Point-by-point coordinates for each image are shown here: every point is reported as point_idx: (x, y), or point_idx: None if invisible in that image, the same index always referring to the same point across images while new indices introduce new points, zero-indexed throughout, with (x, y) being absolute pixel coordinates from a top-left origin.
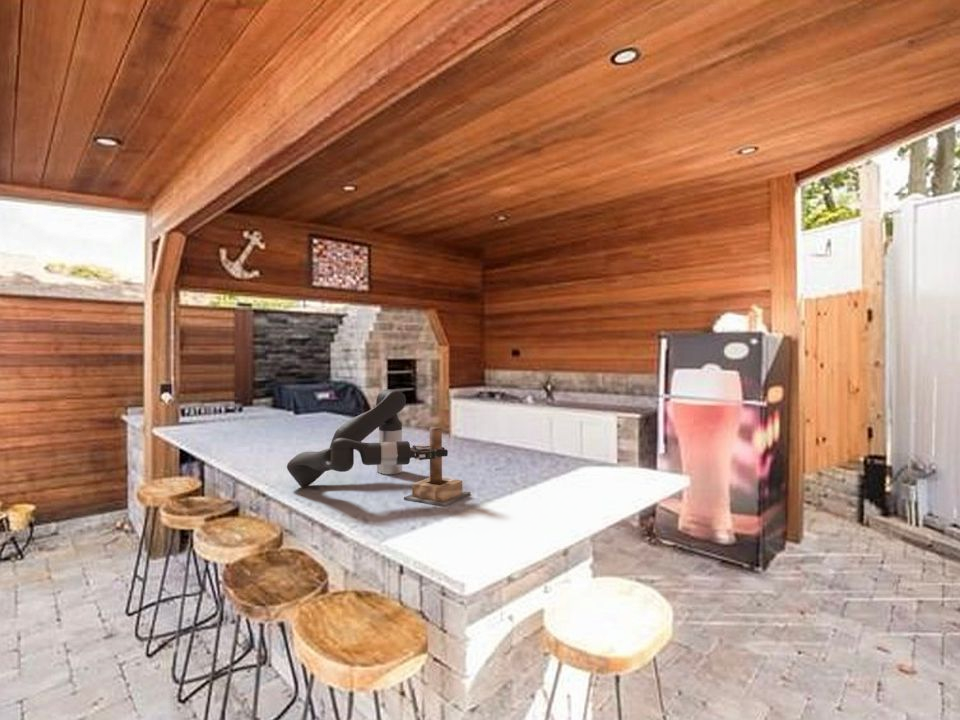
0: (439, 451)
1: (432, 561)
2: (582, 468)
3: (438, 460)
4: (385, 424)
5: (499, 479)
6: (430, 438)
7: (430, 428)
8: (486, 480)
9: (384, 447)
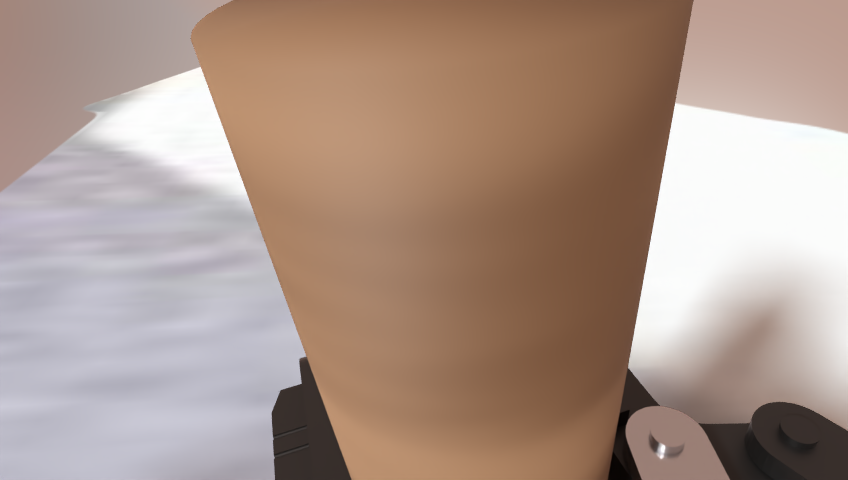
0: (636, 378)
1: None
2: (106, 134)
3: None
4: None
5: (112, 318)
6: (592, 384)
7: (626, 21)
8: (97, 372)
9: None
